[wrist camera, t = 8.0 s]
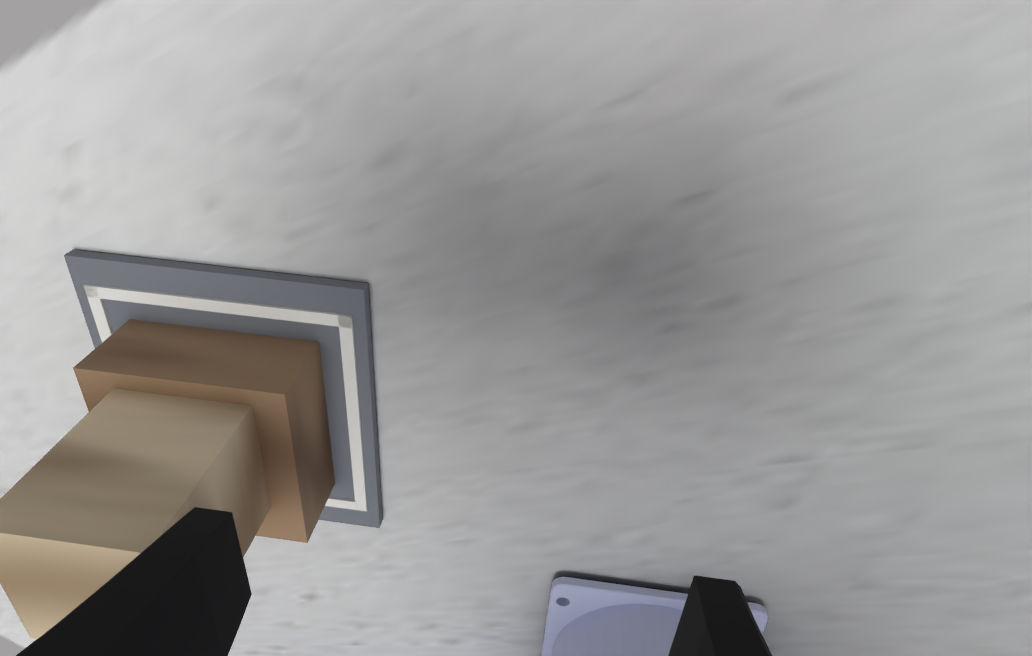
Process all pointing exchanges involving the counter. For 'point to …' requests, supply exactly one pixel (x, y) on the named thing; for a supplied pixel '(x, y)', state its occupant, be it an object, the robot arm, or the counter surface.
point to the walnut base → (235, 401)
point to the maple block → (123, 495)
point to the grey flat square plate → (264, 311)
